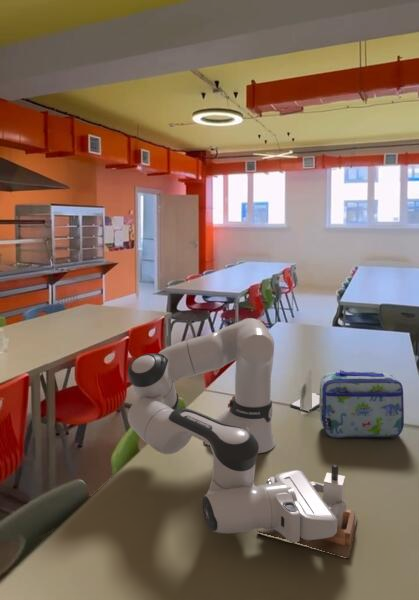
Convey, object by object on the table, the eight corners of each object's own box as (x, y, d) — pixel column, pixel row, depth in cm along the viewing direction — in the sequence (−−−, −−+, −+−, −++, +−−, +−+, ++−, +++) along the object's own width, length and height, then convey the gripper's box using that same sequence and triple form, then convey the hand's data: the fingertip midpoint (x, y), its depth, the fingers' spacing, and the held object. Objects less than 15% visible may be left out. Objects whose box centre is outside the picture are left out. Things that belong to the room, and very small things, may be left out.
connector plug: (321, 526, 105) (324, 468, 102) (325, 516, 108) (327, 460, 106) (340, 531, 103) (343, 472, 101) (343, 520, 107) (345, 463, 104)
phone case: (309, 414, 172) (331, 401, 183) (309, 410, 172) (331, 397, 183) (288, 408, 178) (311, 395, 189) (288, 404, 178) (311, 391, 189)
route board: (257, 534, 106) (257, 518, 105) (274, 500, 119) (274, 486, 118) (348, 559, 98) (349, 542, 98) (357, 520, 111) (357, 504, 110)
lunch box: (320, 439, 151) (322, 377, 148) (316, 425, 162) (318, 366, 158) (404, 442, 149) (408, 379, 145) (394, 427, 159) (398, 368, 155)
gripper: (263, 490, 113) (317, 484, 115) (295, 548, 93) (359, 539, 96) (264, 466, 112) (318, 460, 114) (295, 520, 92) (361, 511, 95)
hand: (337, 496), depth 105 cm, fingers closed on connector plug, 5 cm apart
